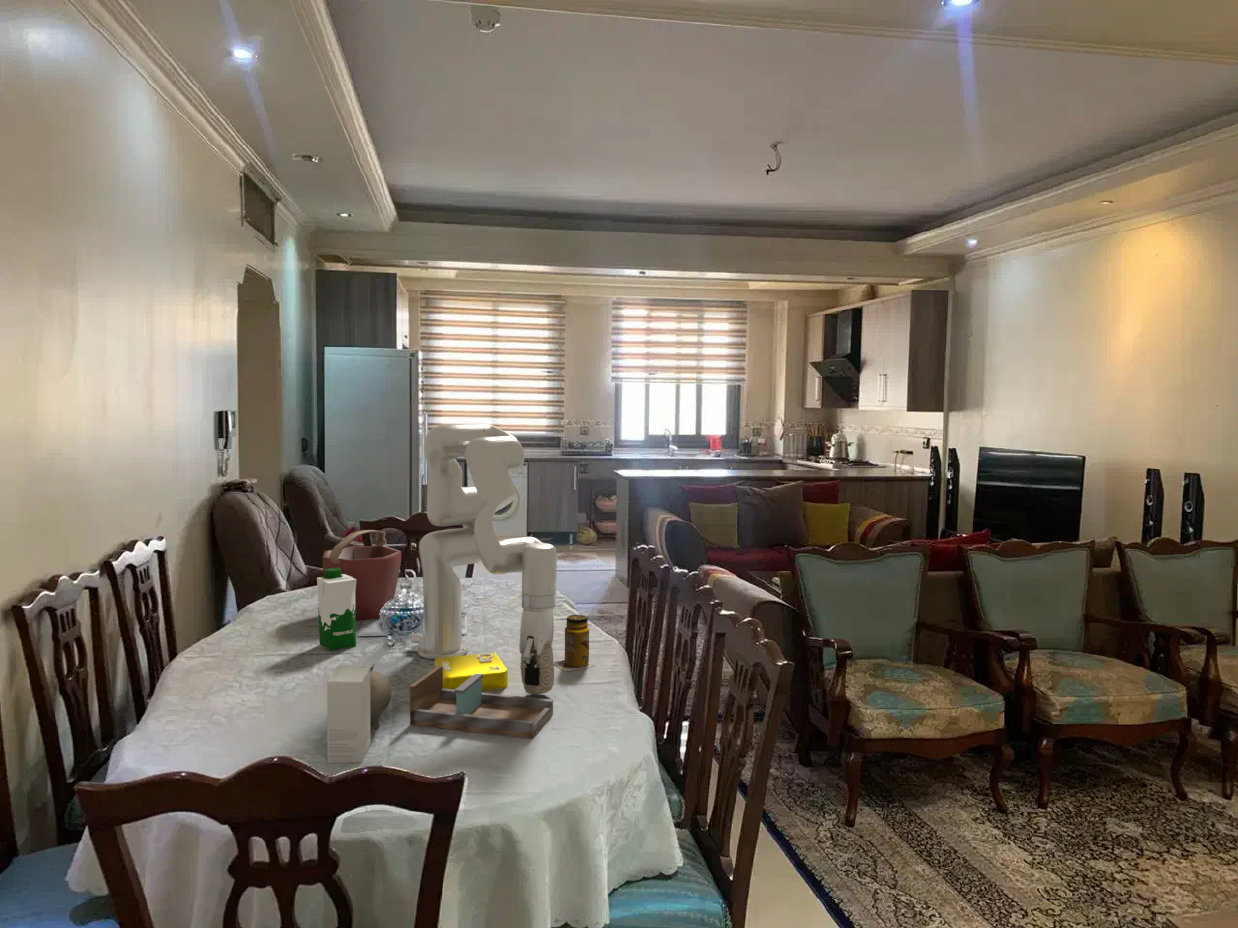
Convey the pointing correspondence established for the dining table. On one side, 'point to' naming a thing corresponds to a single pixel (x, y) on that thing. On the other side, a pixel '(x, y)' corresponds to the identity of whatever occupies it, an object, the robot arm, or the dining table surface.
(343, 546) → the bucket
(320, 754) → the dining table surface
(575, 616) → the condiment
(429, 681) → the pusher lane
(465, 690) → the pusher plate
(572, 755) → the dining table surface
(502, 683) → the yellow rounded box
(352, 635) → the milk carton
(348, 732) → the skincare box
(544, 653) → the carving
